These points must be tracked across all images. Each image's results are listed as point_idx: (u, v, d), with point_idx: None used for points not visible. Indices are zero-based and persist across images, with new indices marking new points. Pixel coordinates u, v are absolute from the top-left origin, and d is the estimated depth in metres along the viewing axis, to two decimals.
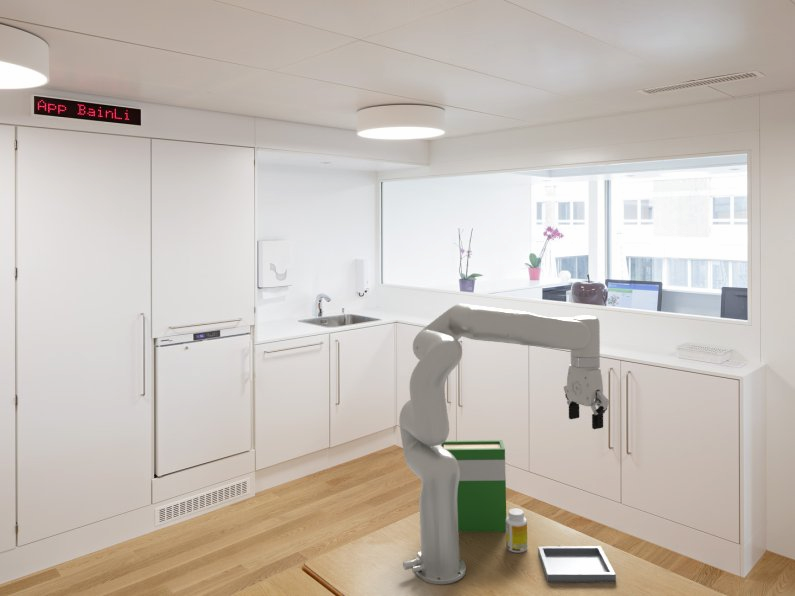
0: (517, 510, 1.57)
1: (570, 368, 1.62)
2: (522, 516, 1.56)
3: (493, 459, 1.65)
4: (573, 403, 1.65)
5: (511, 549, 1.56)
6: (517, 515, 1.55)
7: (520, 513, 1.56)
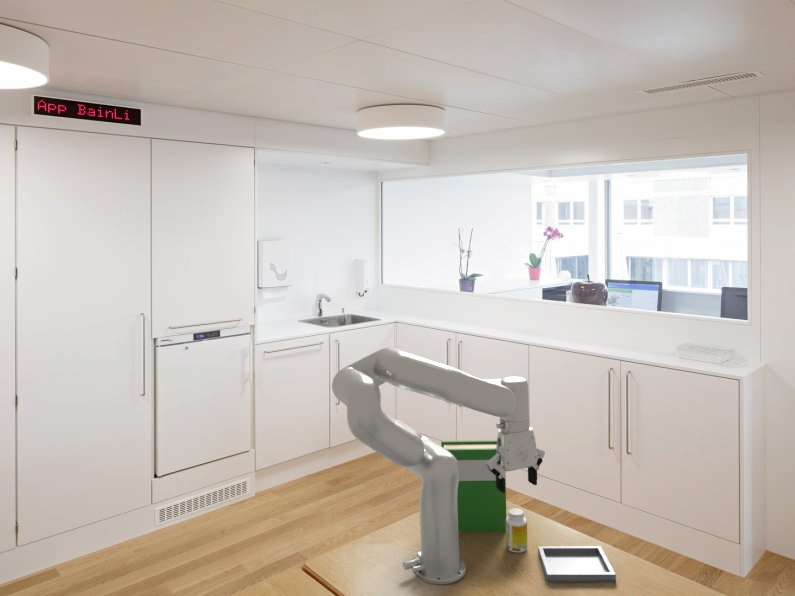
0: (517, 510, 1.57)
1: (510, 437, 1.51)
2: (522, 516, 1.56)
3: None
4: None
5: (511, 549, 1.56)
6: (517, 515, 1.55)
7: (520, 513, 1.56)
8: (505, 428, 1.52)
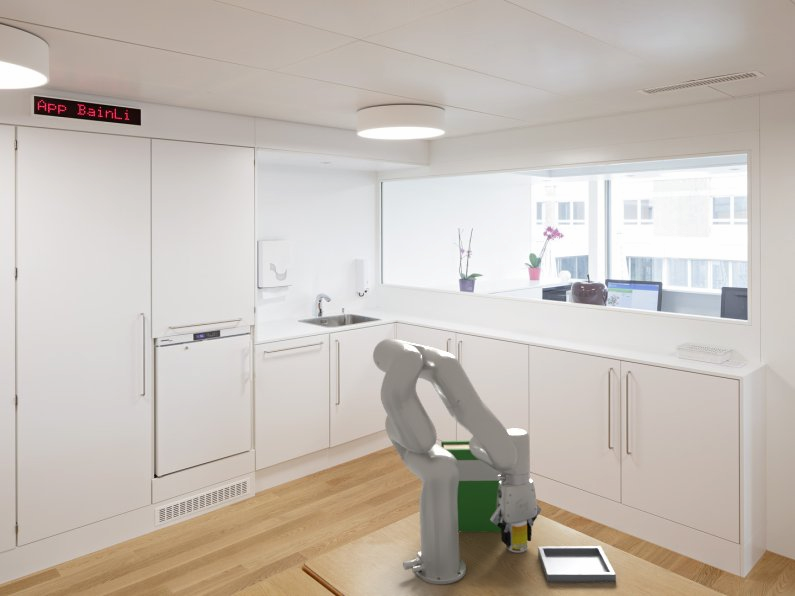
0: None
1: (510, 489, 1.53)
2: None
3: None
4: None
5: (511, 549, 1.56)
6: None
7: None
8: (506, 480, 1.53)
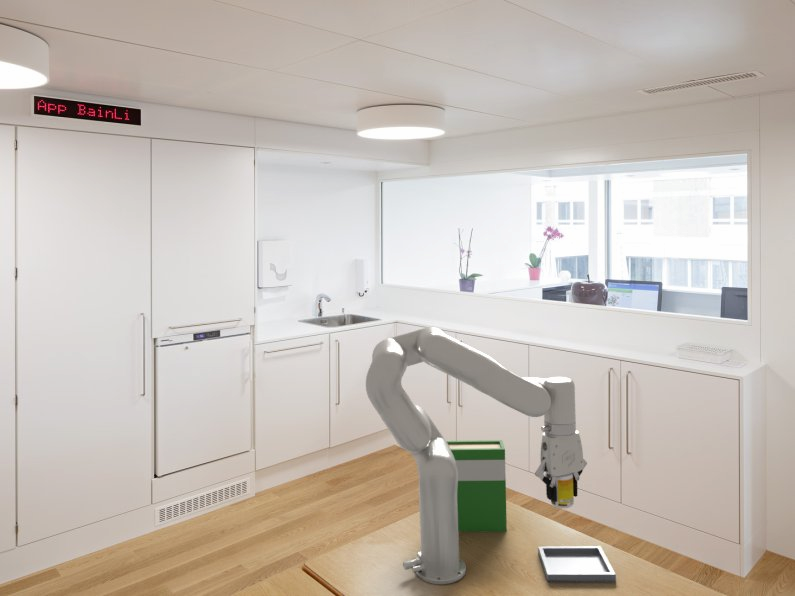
0: None
1: (556, 441, 1.43)
2: None
3: (493, 459, 1.65)
4: None
5: (557, 505, 1.46)
6: None
7: None
8: (551, 431, 1.44)
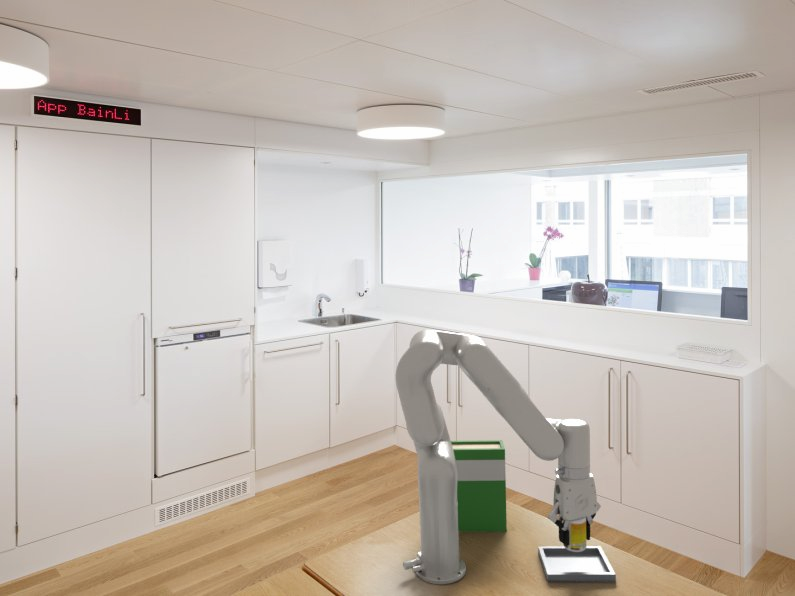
0: None
1: (570, 484, 1.42)
2: None
3: (493, 459, 1.65)
4: None
5: (570, 549, 1.45)
6: None
7: None
8: (565, 475, 1.43)
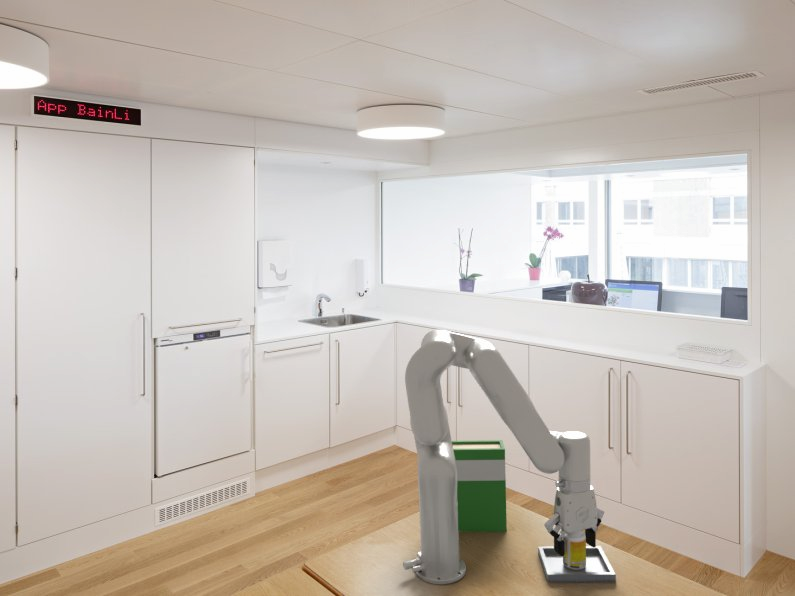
0: None
1: (570, 497, 1.42)
2: (581, 531, 1.45)
3: (493, 459, 1.65)
4: None
5: (569, 566, 1.45)
6: None
7: None
8: (565, 487, 1.43)
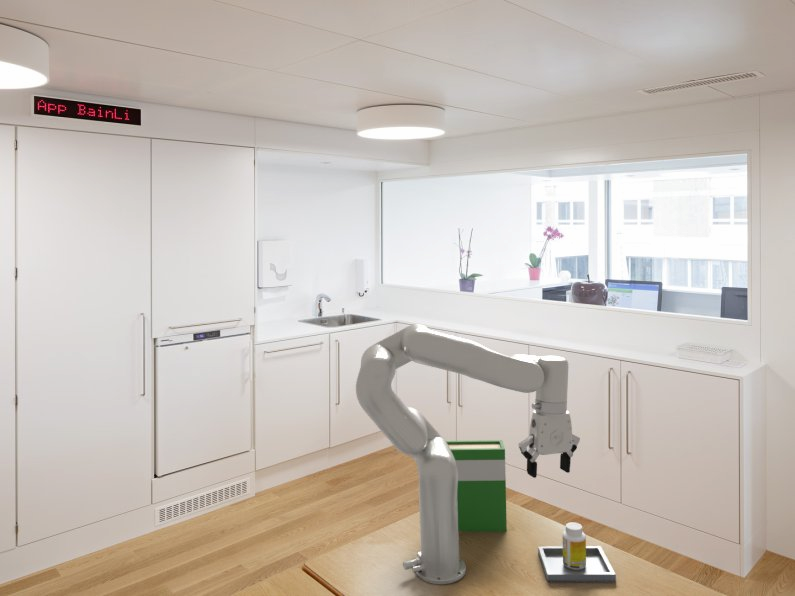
0: (575, 524, 1.47)
1: (546, 418, 1.43)
2: (581, 531, 1.45)
3: (493, 459, 1.65)
4: None
5: (569, 566, 1.45)
6: (576, 530, 1.45)
7: (579, 528, 1.46)
8: (541, 409, 1.44)
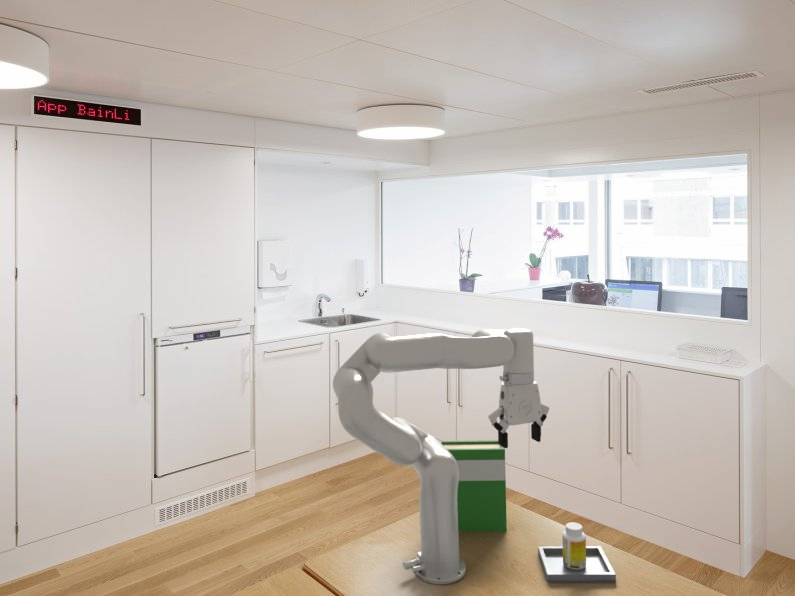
0: (575, 524, 1.47)
1: (514, 389, 1.46)
2: (581, 531, 1.45)
3: (493, 459, 1.65)
4: None
5: (569, 566, 1.45)
6: (576, 530, 1.45)
7: (579, 528, 1.46)
8: (509, 380, 1.47)
